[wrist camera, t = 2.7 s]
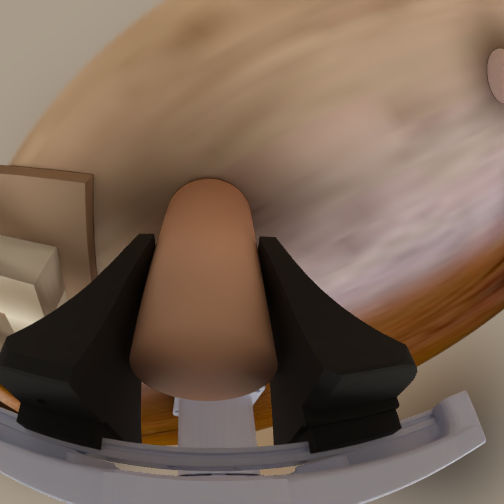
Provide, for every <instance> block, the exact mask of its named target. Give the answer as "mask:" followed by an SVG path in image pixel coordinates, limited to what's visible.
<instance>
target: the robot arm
mask: <svg viewBox="0 0 504 504" xmlns="http://www.w3.org/2000/svg"><path fill="white" fill-rule="evenodd" d="M155 247H156V246H155V237H154V234H139V235H138V236H137V237H136V238H135V239H134V240H133V241H132V242H131V243H130V244H129V245H128V246H127V247H126V248H125V249H124V250H123V251H122V252H121V253H120V254H119V255H118V256H117V257H116V258H115V259H114V261H113V262H112V263H111V264H110V265H109V266H108V267H107V268H106V269H104V270H103V271H102V272H101V273H100V274H99V275H98V276H97V277H96V278H95V279H94V280H93V281H92V282H91V283H90V284H88V285H87V286H86V287H85V288H84V289H82V290H81V291H80V292H79V293H78V294H76V295H75V296H74V297H72V298H71V299H70V300H68V301H67V302H65V303H64V304H63V305H61V306H60V307H58V308H57V309H56V310H54V311H53V312H51V313H49V314H48V315H46V316H45V317H43V318H41V319H40V320H38V321H36V322H35V323H33V324H31V325H29V326H27V327H25V328H23V329H21V330H19V331H17V332H15V333H13V334H11V335H9V336H7V337H6V339H5V342H4V344H3V346H2V349H1V351H0V383H1V384H2V385H3V386H4V387H5V388H6V389H7V390H8V391H9V392H10V393H11V394H12V395H13V396H14V397H16V398H17V399H18V400H19V401H20V402H21V404H20V408H19V412H18V414H16V413H14V412H11V411H8V410H6V409H3V408H1V407H0V473H2V474H4V475H5V476H7V477H9V478H11V479H13V480H15V481H17V482H19V483H21V484H23V485H25V486H27V487H29V488H31V489H33V490H36V491H38V492H40V493H42V494H45V495H47V496H50V497H52V498H54V499H57V500H60V501H62V502H65V503H68V504H364V503H367V502H370V501H372V500H375V499H378V498H380V497H383V496H385V495H388V494H391V493H393V492H395V491H398V490H400V489H402V488H404V487H407V486H409V485H411V484H413V483H415V482H417V481H420V480H422V479H424V478H425V477H428V476H430V475H431V474H433V473H435V472H437V471H439V470H441V469H443V468H444V467H446V466H448V465H450V464H451V463H453V462H455V461H456V460H458V459H460V458H461V457H463V456H465V455H466V454H468V453H469V452H471V451H473V450H474V449H476V448H477V447H479V446H481V445H482V444H484V443H485V442H486V438H485V435H484V433H483V430H482V427H481V425H480V422H479V420H478V417H477V415H476V412H475V410H474V407H473V405H472V403H471V400H470V398H469V396H468V393H467V391H462V392H460V393H457V394H455V395H453V396H450V397H448V398H446V399H444V400H442V401H441V402H439V403H438V404H437V405H436V406H435V407H434V408H433V409H432V410H429V411H426V412H424V413H421V414H418V415H416V416H412V417H409V418H406V419H403V420H400V421H399V418H398V415H397V412H396V409H397V408H398V407H399V402H398V400H397V396H398V395H399V394H400V393H401V392H402V391H403V390H404V389H405V388H406V387H407V386H408V385H409V384H410V383H411V382H412V381H413V380H414V378H415V376H416V373H417V367H416V365H415V363H414V360H413V358H412V356H411V354H410V352H409V350H408V348H407V346H406V345H405V344H403V343H401V342H399V341H397V340H395V339H393V338H391V337H389V336H387V335H385V334H383V333H381V332H379V331H378V330H376V329H374V328H372V327H371V326H369V325H367V324H366V323H364V322H363V321H361V320H360V319H358V318H357V317H355V316H354V315H352V314H351V313H350V312H348V311H347V310H345V309H344V308H343V307H341V306H340V305H339V304H338V303H336V302H335V301H334V300H333V299H332V298H331V297H329V296H328V295H327V294H326V293H325V292H324V291H322V290H321V289H320V288H319V287H318V286H317V285H316V284H315V283H314V282H313V281H312V280H311V279H310V278H309V277H308V276H307V275H306V274H305V272H304V271H303V270H302V269H301V268H300V267H299V266H298V264H297V263H296V262H295V261H294V260H293V259H292V257H291V256H290V255H289V254H288V252H287V251H286V250H285V249H284V247H283V246H282V245H281V244H280V242H279V241H278V240H277V239H276V237H260V238H259V245H258V255H259V260H260V266H261V271H262V277H263V283H264V288H265V294H266V300H267V305H268V311H269V317H270V322H271V328H272V334H273V340H274V345H275V351H276V357H277V363H278V367H277V371H276V374H275V376H274V377H273V378H272V380H271V381H270V390H271V403H272V417H273V436H274V437H273V438H274V445H273V446H261V447H257V443H256V442H257V441H256V433H255V423H254V414H253V404H254V403H255V401H256V400H257V399H258V397H259V396H260V395H261V393H262V392H263V391H264V389H265V386H264V387H262V388H261V389H259V390H257V391H255V392H253V393H250V394H248V395H245V396H242V397H238V398H234V399H228V400H220V401H195V400H187V399H182V398H177V397H175V400H174V407H173V415H175V416H179V419H178V447H171V446H158V445H149V444H142V439H141V382H142V381H141V380H140V379H139V378H138V377H137V376H136V375H135V374H134V372H133V371H132V369H131V366H130V362H129V357H130V352H131V347H132V342H133V337H134V332H135V327H136V323H137V318H138V314H139V309H140V305H141V301H142V296H143V292H144V288H145V284H146V280H147V277H148V273H149V269H150V265H151V262H152V258H153V254H154V251H155ZM99 459H101V460H99ZM103 460H106V461H111V462H117V463H122V464H128V465H135V466H142V467H151V468H159V469H171V470H178V476H171V475H157V474H149V473H140V472H133V471H125V470H120V469H119V468H117V467H116V466H115V465H114V464H113V463H109V462H106V461H103ZM303 464H304V465H303ZM296 465H300V466H297V467H296V468H295V472H293V473H291V474H287V475H274V476H264V475H260V469H271V468H281V467H288V466H296Z"/></svg>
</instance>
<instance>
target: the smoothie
mask: <svg viewBox="0 0 504 504" xmlns="http://www.w3.org/2000/svg"><path fill="white" fill-rule="evenodd" d="M487 75H488V82H489V86H490V89H491V91H492V93H493V95H494V96H495V98H496V99H497V100H498V101H499V102H501V103H503V104H504V49H495V50H494V51H493V52H492V53H491V54H490V57H489V60H488V65H487Z"/></svg>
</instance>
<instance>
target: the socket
mask: <svg viewBox="0 0 504 504" xmlns="http://www.w3.org/2000/svg"><path fill="white" fill-rule="evenodd" d="M96 277H97V272H96V261H95V248H94V229H93V175H92V174H84V173H76V172H68V171H59V170H49V169H40V168H29V167H17V166H5V165H0V351H1V349H2V346H3V344H4V342H5V339H6V337H7V336H9V335H11V334H13V333H15V332H17V331H19V330H21V329H23V328H25V327H27V326H29V325H31V324H33V323H35V322H36V321H38V320H40V319H41V318H43V317H45V316H46V315H48V314H49V313H51V312H53V311H54V310H56V309H57V308H58V307H60V306H61V305H63V304H64V303H65V302H67V301H68V300H70V299H71V298H72V297H74V296H75V295H76V294H78V293H79V292H80V291H81V290H82V289H84V288H85V287H86V286H87V285H88V284H90V283H91V282H92V281H93V280H94V279H95V278H96Z"/></svg>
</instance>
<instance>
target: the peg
mask: <svg viewBox="0 0 504 504" xmlns="http://www.w3.org/2000/svg"><path fill="white" fill-rule="evenodd" d="M129 362H130V366H131V369H132V371H133V372H134V374H135V375H136V376H137V377H138V378H139V379H140V380H141V381H142V382H143V383H145V384H146V385H148V386H149V387H151V388H153V389H155V390H157V391H159V392H161V393H164V394H167V395H170V396H173V397H177V398H182V399H187V400H195V401H220V400H228V399H234V398H238V397H242V396H245V395H248V394H250V393H253V392H255V391H257V390H259V389H261V388H262V387H264V386H265V385H266V384H268V383H269V382H270V381H271V380H272V378H273V377H274V376H275V374H276V371H277V367H278V363H277V357H276V351H275V345H274V340H273V334H272V328H271V322H270V317H269V311H268V305H267V300H266V294H265V288H264V283H263V277H262V271H261V266H260V260H259V255H258V249H257V243H256V238H255V232H254V227H253V221H252V216H251V210H250V206H249V203H248V201H247V199H246V198H245V196H244V195H243V194H242V193H241V192H240V191H239V190H238V189H237V188H236V187H234V186H233V185H231V184H229V183H227V182H224V181H221V180H216V179H200V180H196V181H193V182H190V183H188V184H186V185H184V186H183V187H182V188H180V189H179V190H178V191H177V192H176V193H175V194H174V195H173V197H172V199H171V200H170V202H169V205H168V208H167V211H166V214H165V217H164V221H163V224H162V227H161V230H160V234H159V237H158V240H157V244H156V247H155V251H154V254H153V258H152V262H151V265H150V269H149V273H148V277H147V280H146V284H145V288H144V292H143V296H142V301H141V305H140V309H139V314H138V318H137V323H136V327H135V332H134V337H133V342H132V347H131V352H130V357H129Z"/></svg>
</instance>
